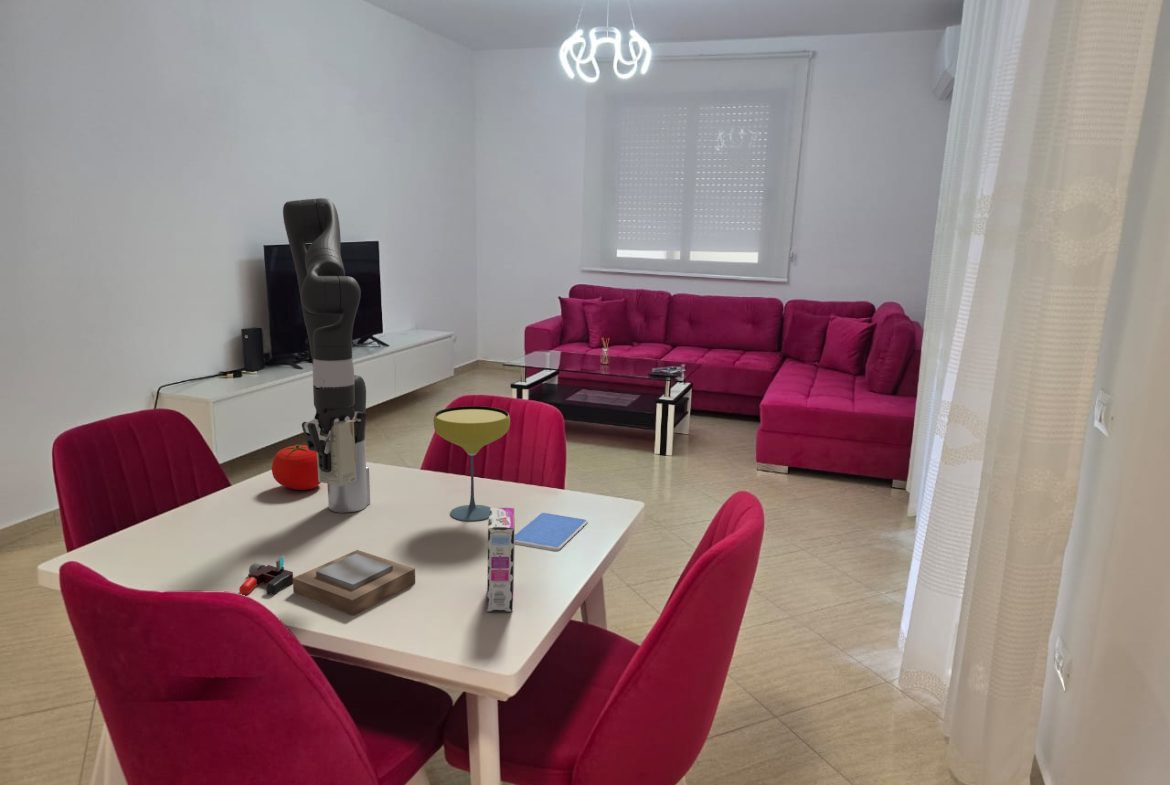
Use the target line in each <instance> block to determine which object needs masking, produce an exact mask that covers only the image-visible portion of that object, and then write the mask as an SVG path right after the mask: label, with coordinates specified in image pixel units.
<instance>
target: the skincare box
mask: <svg viewBox="0 0 1170 785" xmlns="http://www.w3.org/2000/svg"><path fill="white" fill-rule="evenodd" d="M317 428H318V429H319V426H317ZM318 431H319V430H318ZM318 431H317V432H318ZM322 435H323V436H325V437H327V436H328V434H324V433H323V432H322ZM333 438H334V440H333V442H332V443H331V447H330V452H329V453H331V471H330V472H327V473H326V472H323V471H321V469H320V468H319V459H318V452H317V464H318V481H319V482H321V483H322V484H327V485H328V484H333V485H339V486H343V485H346V484H348V483H351V482H354V481H356V480H357V478H356V458H355V438H354V421H352V420H350V421H339V423H336V424H334V427H333ZM324 444H325V441H324ZM323 447H324V446H323Z"/></svg>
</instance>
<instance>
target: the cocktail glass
mask: <svg viewBox="0 0 1170 785" xmlns="http://www.w3.org/2000/svg"><path fill="white" fill-rule="evenodd" d="M510 426H511V417H510V414H509V412H508V411H507V410H504V409H502V408H499V407H498V408H497V407H491V406H484V405H483V406H481V405H466V406H465V405H464V406H455V407H448V408H443V409H441V410H439V411H436V412H435V413H434V416H433V429H434V431H435V433H436V434H437V435H438V436H439V437H441V439H443V440H445V441H447V442H450V443H451V444H454V445H456V446H459V447H461V448H462V449H463V450H464V451H465V453H466V454H467V455H469V456H470V500H469V504H464V505H459V506H457V507H454V508H452V509H451V511H450V512H449V515H450V516H451V518H453V519H455V520H456V521H462V522H481V521H485V520H489V513H490V508H491V506H488V505H482V504H476V500H475V488H474V487H475V486H474V485H475V483H474V482H475V481H474V471H475V470H474V456H476V455H477V454H478V453H479V452H480V450H481V449H482V448H483V447H485V446H486V445H489V444H492V443H493V442H495V441H497V440H499V439H501V438H503V436H505V435H506V434H507V433H508V432H509V429H510Z"/></svg>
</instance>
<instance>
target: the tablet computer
mask: <svg viewBox="0 0 1170 785" xmlns="http://www.w3.org/2000/svg"><path fill="white" fill-rule="evenodd" d="M587 522H588V523H589V521H588V520H587V519H585V518H579V517H572V516H567V515H560V514H555V513H554V514H552V513H547V512H540V513H539V514H538V515H536V517H534V518H533V519H532V520H531V521H529V522H528V523H527V524H526V525H525V526H523V527H522V528H521V529H519V530H518V531H517V532H516V533H515V545H519V546H525V547H529V548H537V549H542V550H548V551H554V552H558V551H560V550H561V549H562V548H563V547H564V546H565V545H566V544H567V543H569V541H570V540H572V538H573V537H574V536H575V535H577V534H578V533H579V532H580V531H581V530H582V529H584V527H585V526H586V525H587V524H588V523H587ZM586 523H587V524H586ZM585 524H586V525H585ZM583 526H584V527H583ZM578 531H579V532H578Z"/></svg>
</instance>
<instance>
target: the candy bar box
mask: <svg viewBox="0 0 1170 785" xmlns="http://www.w3.org/2000/svg"><path fill="white" fill-rule="evenodd" d="M515 520H516V519H515V507H490V513H489V518H488V522H487V583H486V584H487V585H486V586H487V588H486V590H487V593H486V594H487V596H486V597H487V598H486V599H487V600H486V603H487V604H486V606H487V607H486V612H487V613H512V612H513V609H514V608H513V606H514V591H515V590H514V589H515V588H514V587H515V551H516V550H515V549H516V548H515V547H516V546H515V545H516V544H515V534H516V533H515V531H516V530H515V529H516V528H515V527H516V525H515V524H516V523H515Z"/></svg>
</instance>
